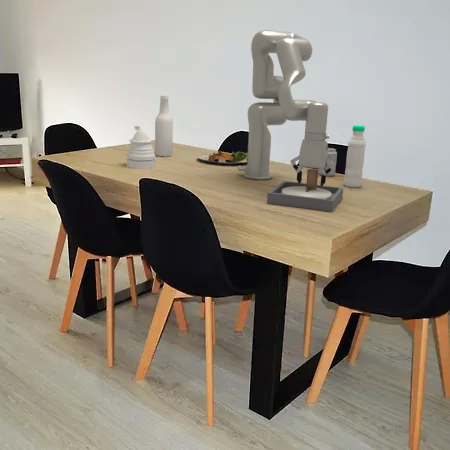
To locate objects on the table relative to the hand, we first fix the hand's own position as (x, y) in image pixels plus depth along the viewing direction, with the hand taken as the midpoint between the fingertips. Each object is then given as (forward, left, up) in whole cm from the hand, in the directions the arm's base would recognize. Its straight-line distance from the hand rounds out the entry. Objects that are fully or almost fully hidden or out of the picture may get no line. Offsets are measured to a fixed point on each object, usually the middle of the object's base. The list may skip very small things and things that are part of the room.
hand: (310, 183), depth 206 cm
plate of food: (-53, +54, -5) cm, 76 cm away
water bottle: (+12, +28, -5) cm, 31 cm away
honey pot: (-82, +19, -5) cm, 84 cm away
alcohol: (-86, +50, -5) cm, 100 cm away
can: (-2, +46, -5) cm, 47 cm away
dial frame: (0, -7, -5) cm, 8 cm away
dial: (0, -6, -3) cm, 7 cm away
